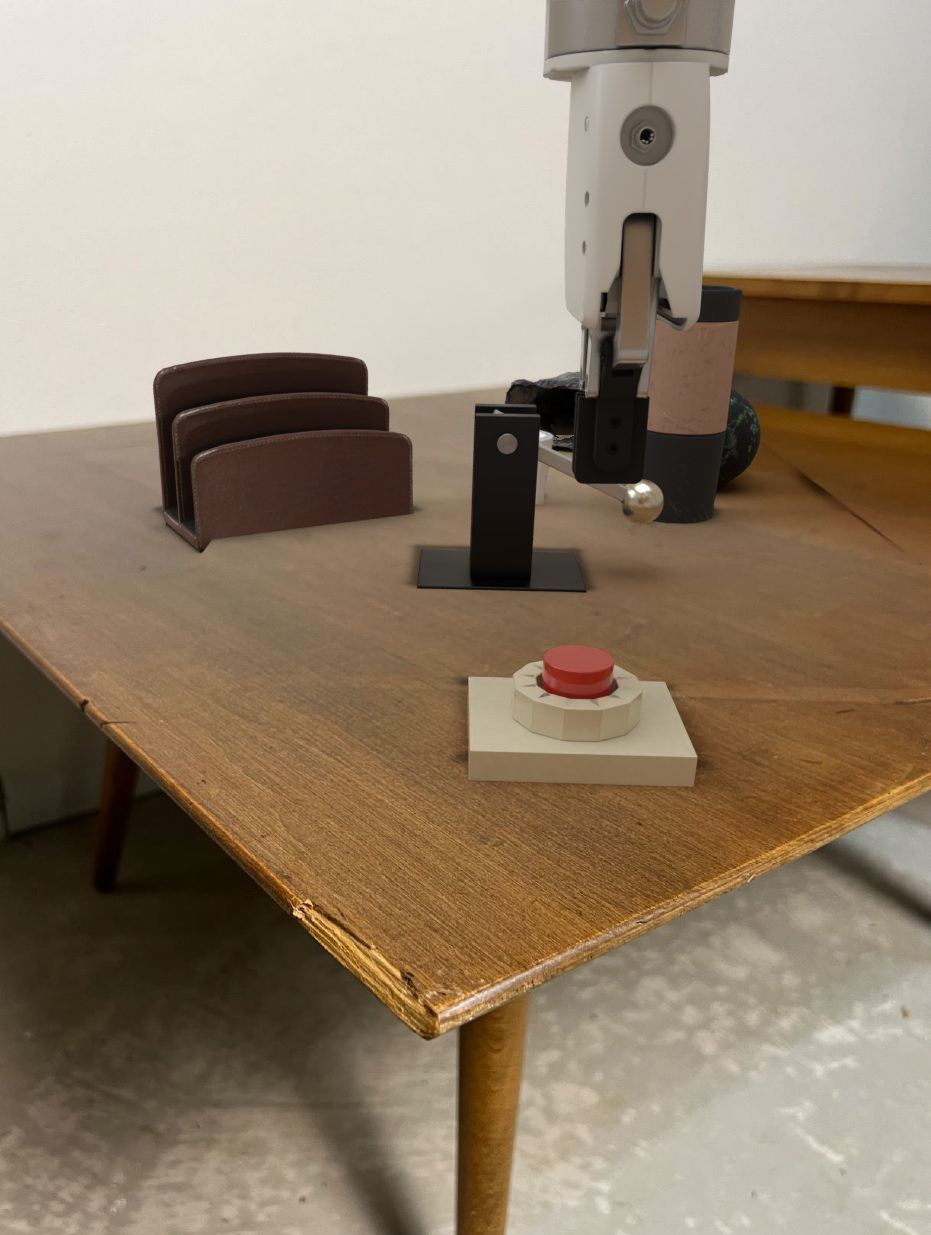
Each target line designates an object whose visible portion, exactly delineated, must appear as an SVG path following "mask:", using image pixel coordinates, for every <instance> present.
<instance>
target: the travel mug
mask: <svg viewBox="0 0 931 1235" xmlns="http://www.w3.org/2000/svg"><path fill="white" fill-rule="evenodd" d="M743 293H744V291H743V289H740V288H739V289H738V288H737V287H735V286H730V285H720V284H702V291H701V305H700V315H699V318H698V320H697V321H696V323H695V324H694V325H693V326H692V327H691V328H689V329H688V330H687V331H678V330H675V329H674V328H672V327H670V326H668V325H667V324H665V323H663V322H662V321H660V320H658V319H656V328H655V338H654V346H653V355H652V365H651V374H650V383H649V392H648V396H649V397H650V401H649V413H648V425H647V437H646V449H645V461H644V473H643V479H644V480H649V481H652V482H653V483H655V484H656V485H657V486H658V487H659V488H660V489H661V491H662V494H663V497H664V505H663V509H662V511H661V513H660V514H659V516H658V517H657V518H656V519H655V520H653V521H652V522H655V523H662V524H678V525H688V524H698V523H704V522H707V521H709V520H711V519H712V518H713V513H714V508H715V501H716V495H717V488H718V486H717V483H718V477H719V471H720V464H721V458H722V452H723V446H724V439H725V433H726V431H725V430H726V426H727V418H728V409H729V401H730V392H731V389H732V383H733V375H734V368H735V366H734V365H735V357H736V351H737V350H736V349H737V341H738V331H739V325H740V324H739V323H740V315H741V306H742V300H743Z"/></svg>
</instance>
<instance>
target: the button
mask: <svg viewBox="0 0 931 1235" xmlns="http://www.w3.org/2000/svg"><path fill="white" fill-rule="evenodd" d="M542 657H543V658H542V660H543V670H542V685H541V687H542V689H543V690H545V691H546V692H548V693H549V694H553V695H557V696H561V697H565V698H569V699H597V698H601V697H605V696H610V694H611V692H612V683H613V673H614V665H615V659H614V657H613V655H612V654H610V653H609V652H607V651H605V650H602V649H600V648H596V647H592V646H589V645H588V646H587V645H579V644H578V645H577V644H572V645H570V644H569V645H568V644H567V645H560V646H555V647H552V648H550V649H548V650H547V651H546V652H545V653H544V654H543V656H542Z"/></svg>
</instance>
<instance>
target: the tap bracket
mask: <svg viewBox="0 0 931 1235" xmlns="http://www.w3.org/2000/svg"><path fill="white" fill-rule="evenodd" d="M494 410H498V411H500V412H502V413H504V414H493V412H494ZM536 410H537V407H536V405H524V404H505V403H475V404H474V417H473V418H474V421H473V422H474V423H473V450H472V478H471V508H470V535H469V536H470V540H469V543H470V544H469V549H435V548H434V549H433V548H431V549H430V548H427V549H426V548H422V549H420V554H419V555H420V556H419V565H418V574H417V581H416V582H417V583H416V589H418V590H421V589H422V590H456V591H457V590H459V591H460V590H462V591H505V592H540V593H541V592H544V593H545V592H547V593H549V592H550V593H583V594H584V593H587V588H586V585H585V582H584V580H583V579H584V578H583V576H582V573H581V569H580V567H579V565H578V561H577V558H576V555H575V553H574V552H568V551H566V552H564V551H561V552H560V551H533V549H534V536H535V535H534V534H535V533H534V532H535V516H536V505H535V502H536V485H537V468H538V451H539V435H540V415H539V414H536Z"/></svg>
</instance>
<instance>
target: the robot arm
mask: <svg viewBox="0 0 931 1235" xmlns="http://www.w3.org/2000/svg"><path fill="white" fill-rule="evenodd" d="M735 6H736V0H545V19H544V20H545V21H544V22H545V23H544V42H543V43H544V46H543V47H544V48H543V60H544V61H543V68H542V70H543V72H542V74H543V75H542V77H543V78H544V79H548V80H549V81H550V80H551V81H557V82H565V83H570V96H569V114H568V129H567V130H568V132H567V133H568V134H567V150H566V152H567V155H566V156H567V157H566V173H565V174H566V175H565V176H566V177H565V199H564V200H565V202H564V205H565V206H564V208H565V209H564V300H565V308H566V310H567V311H568V312H569V314H570V315H571V316H572V317H573V318H574V319H575V320H577V321H578V322H579V323H580V326H581V327H580V329H581V334H580V338H581V339H580V359H579V360H580V362H579V372H580V391H585V392H576V400H575V419H574V437H573V449H572V454H571V455H572V457H571V459H572V471H573V474H574V476H575V478H574V479H575V480H576V482H577V483H579V484H580V485H582V484H583V485H587V484H624V485H628V484H637V483H639V482H640V481H641V480H642V479H643V473H644V461H645V449H646V437H647V425H648V413H649V401H650V397H649V396H648V392H649V383H650V374H651V365H652V355H653V346H654V338H655V328H656V319H658V320H660V321H662V322H663V323H665V324H667V325H668V326H670V327H672V328H674V329H675V330H678V331H687V330H688V329H689V328H691V327H692V326H693V325H694V324H695V323H696V321H697V320H698V318H699V315H700V305H701V291H702V285H703V275H704V274H703V272H704V255H705V240H706V238H705V237H706V223H707V206H708V205H707V204H708V187H709V169H710V168H709V166H710V146H711V144H710V142H711V77H714V78H716V77H721V76H723V75H725V74H728V73H729V65H730V55H731V46H732V39H733V38H732V36H733V26H734V19H735V18H734V17H735V9H736V8H735Z"/></svg>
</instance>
